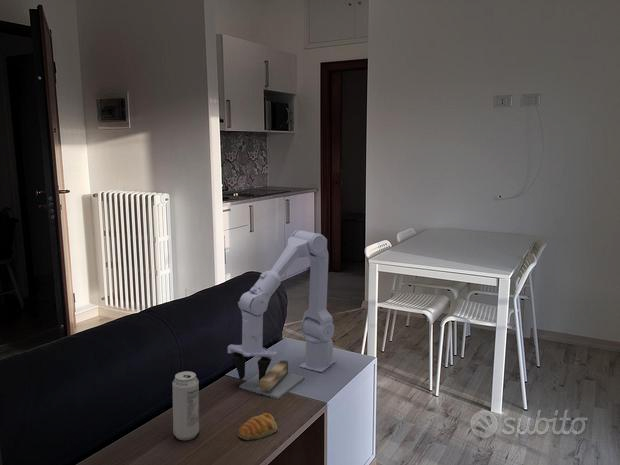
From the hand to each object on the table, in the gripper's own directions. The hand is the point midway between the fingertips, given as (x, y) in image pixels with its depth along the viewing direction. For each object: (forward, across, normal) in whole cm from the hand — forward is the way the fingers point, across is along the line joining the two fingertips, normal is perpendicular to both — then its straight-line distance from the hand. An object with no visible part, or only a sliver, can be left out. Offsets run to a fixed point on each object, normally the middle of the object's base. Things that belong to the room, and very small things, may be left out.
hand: (251, 379), depth 151 cm
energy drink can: (+3, -4, -28) cm, 29 cm away
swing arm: (+1, +5, +4) cm, 7 cm away
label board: (+2, +4, +5) cm, 7 cm away
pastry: (+3, +12, -21) cm, 24 cm away
